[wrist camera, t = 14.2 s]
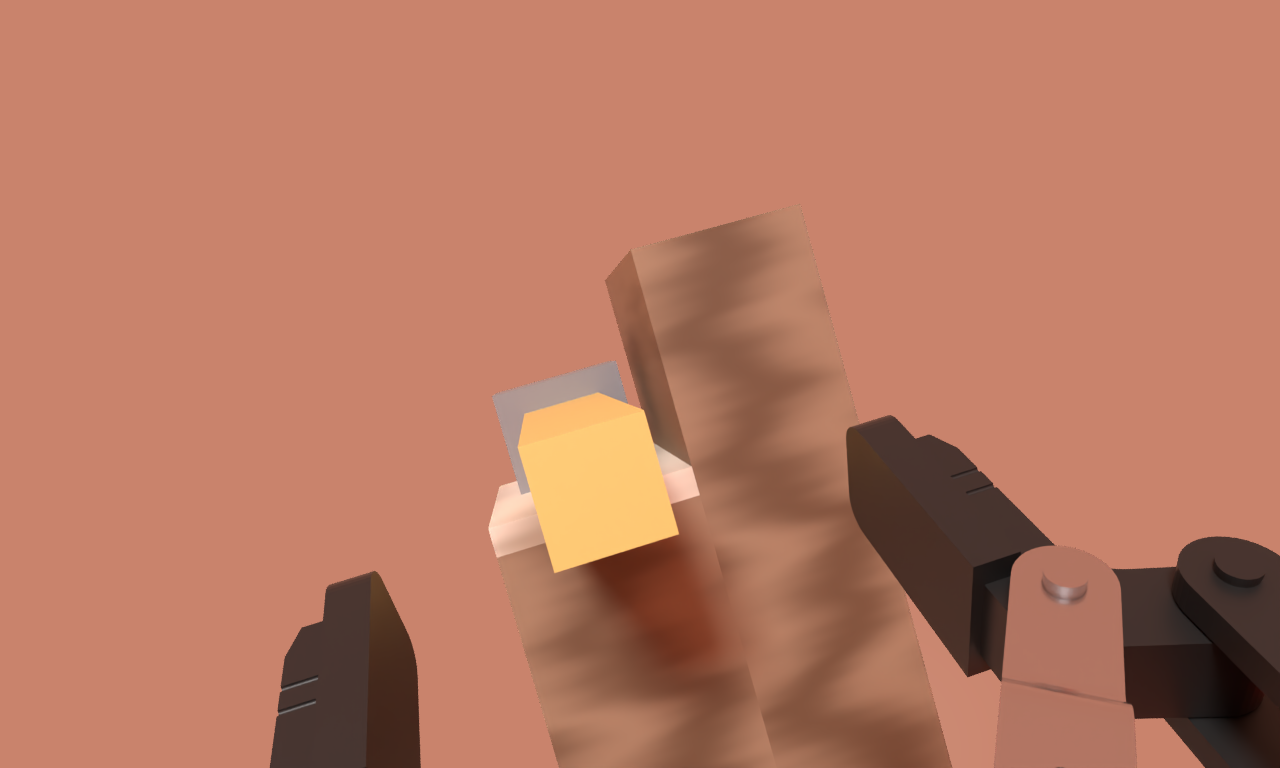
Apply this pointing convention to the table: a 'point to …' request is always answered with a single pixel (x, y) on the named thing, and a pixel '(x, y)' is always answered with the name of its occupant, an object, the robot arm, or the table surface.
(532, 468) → the bar
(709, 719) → the step stand
